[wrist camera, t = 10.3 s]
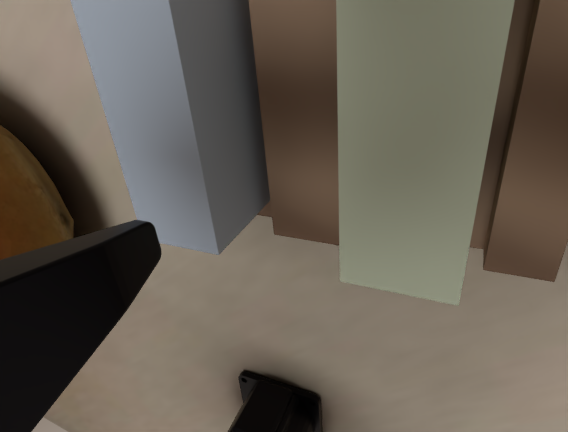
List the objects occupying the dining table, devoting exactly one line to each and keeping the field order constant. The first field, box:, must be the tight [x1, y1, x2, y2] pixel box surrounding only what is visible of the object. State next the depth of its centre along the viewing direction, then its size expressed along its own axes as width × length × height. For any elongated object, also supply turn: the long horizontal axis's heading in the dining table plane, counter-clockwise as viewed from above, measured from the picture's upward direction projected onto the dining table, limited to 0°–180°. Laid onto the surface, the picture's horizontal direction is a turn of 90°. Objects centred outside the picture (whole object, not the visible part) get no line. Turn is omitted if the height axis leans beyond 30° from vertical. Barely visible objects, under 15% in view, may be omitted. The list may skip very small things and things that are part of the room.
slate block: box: [71, 0, 270, 255], centre depth 17 cm, size 10×4×5 cm, turn 5°
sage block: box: [336, 0, 515, 306], centre depth 13 cm, size 10×4×5 cm, turn 5°
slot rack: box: [249, 0, 568, 282], centre depth 17 cm, size 12×20×2 cm, turn 95°
